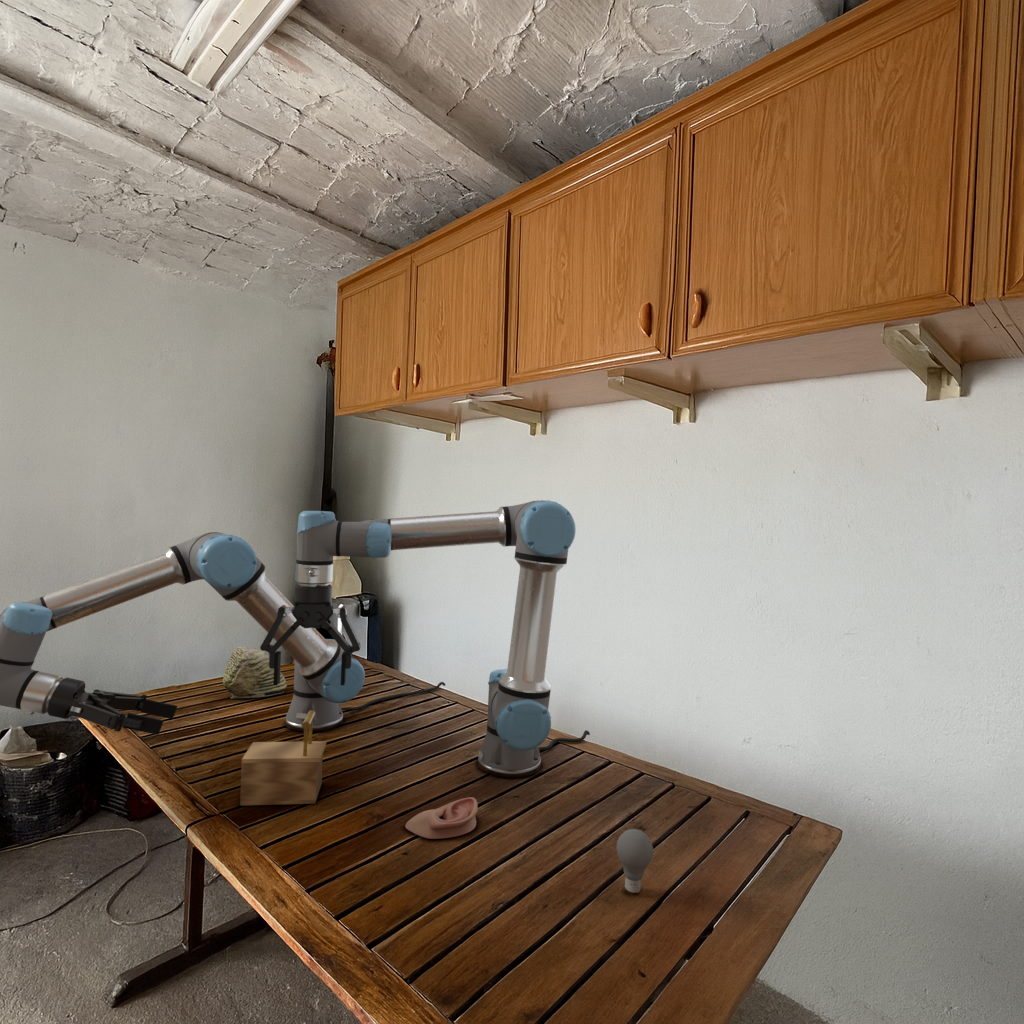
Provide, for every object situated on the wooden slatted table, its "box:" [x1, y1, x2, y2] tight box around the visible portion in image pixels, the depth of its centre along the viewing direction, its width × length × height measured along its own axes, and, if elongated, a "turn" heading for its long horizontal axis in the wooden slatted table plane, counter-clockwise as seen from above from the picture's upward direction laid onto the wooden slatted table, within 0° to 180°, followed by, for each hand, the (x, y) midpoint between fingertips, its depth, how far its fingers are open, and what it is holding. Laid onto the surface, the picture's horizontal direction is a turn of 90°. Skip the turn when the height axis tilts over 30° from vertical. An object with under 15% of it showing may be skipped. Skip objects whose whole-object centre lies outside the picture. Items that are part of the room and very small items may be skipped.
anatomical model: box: [404, 796, 479, 840], centre depth 124 cm, size 13×4×12 cm
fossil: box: [222, 646, 288, 699], centre depth 198 cm, size 9×18×15 cm, turn 132°
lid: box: [241, 710, 327, 764], centre depth 134 cm, size 15×9×8 cm, turn 99°
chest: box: [239, 754, 324, 806], centre depth 134 cm, size 15×9×9 cm, turn 99°
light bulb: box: [615, 828, 654, 894], centre depth 106 cm, size 6×6×10 cm
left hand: (168, 719), depth 132 cm, fingers open, 13 cm apart
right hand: (310, 683), depth 134 cm, fingers open, 13 cm apart
